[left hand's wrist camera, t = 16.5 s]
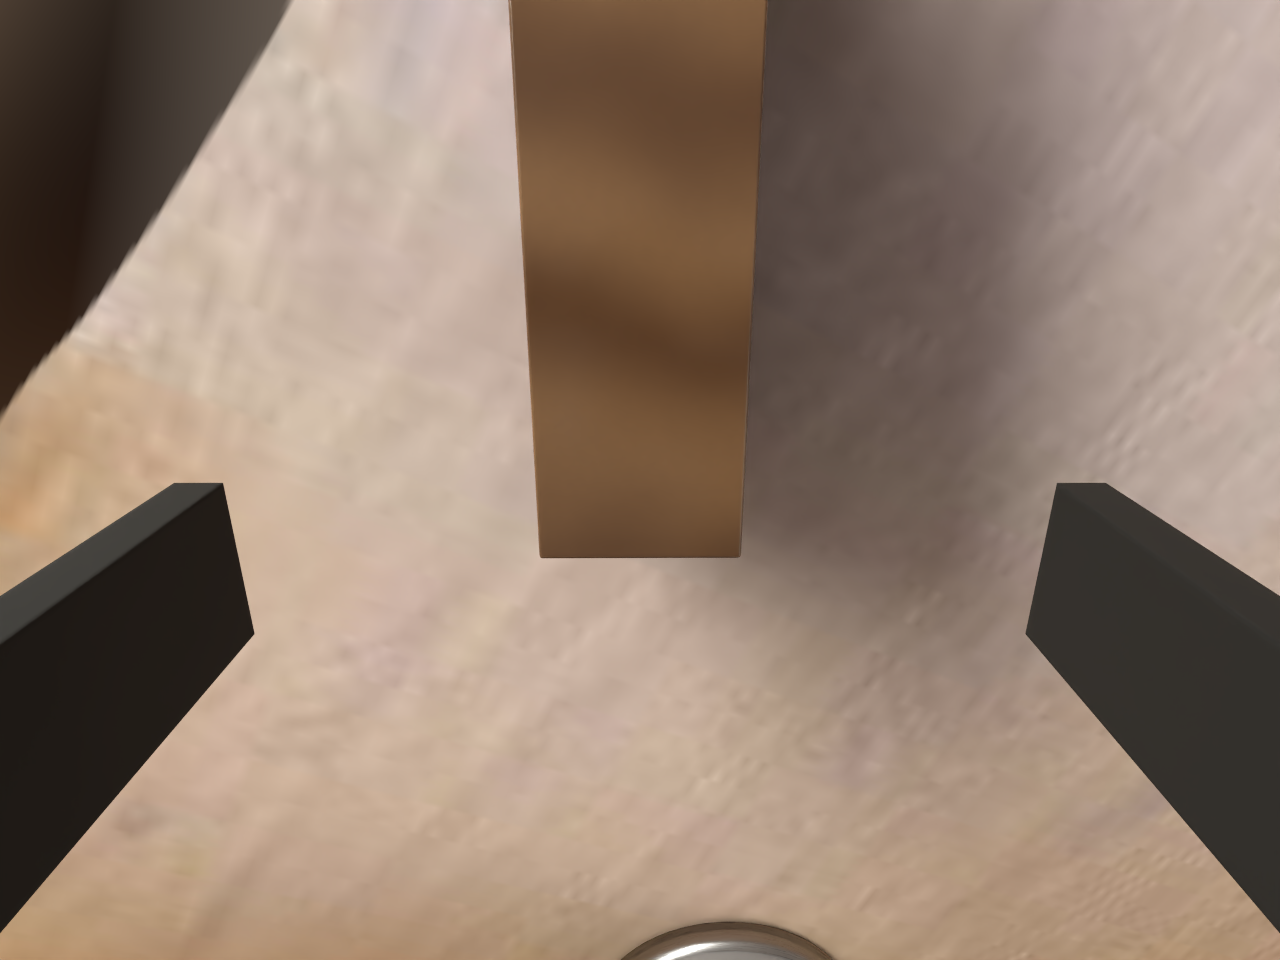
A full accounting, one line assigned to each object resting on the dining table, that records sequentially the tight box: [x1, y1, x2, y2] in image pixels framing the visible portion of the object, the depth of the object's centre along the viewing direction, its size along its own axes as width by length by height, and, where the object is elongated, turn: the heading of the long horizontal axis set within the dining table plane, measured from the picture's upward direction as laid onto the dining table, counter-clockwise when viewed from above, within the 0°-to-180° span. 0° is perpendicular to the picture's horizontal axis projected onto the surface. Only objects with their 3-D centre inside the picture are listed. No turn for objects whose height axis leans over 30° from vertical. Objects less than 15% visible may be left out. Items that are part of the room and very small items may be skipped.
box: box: [508, 0, 768, 558], centre depth 23 cm, size 24×6×12 cm, turn 0°
